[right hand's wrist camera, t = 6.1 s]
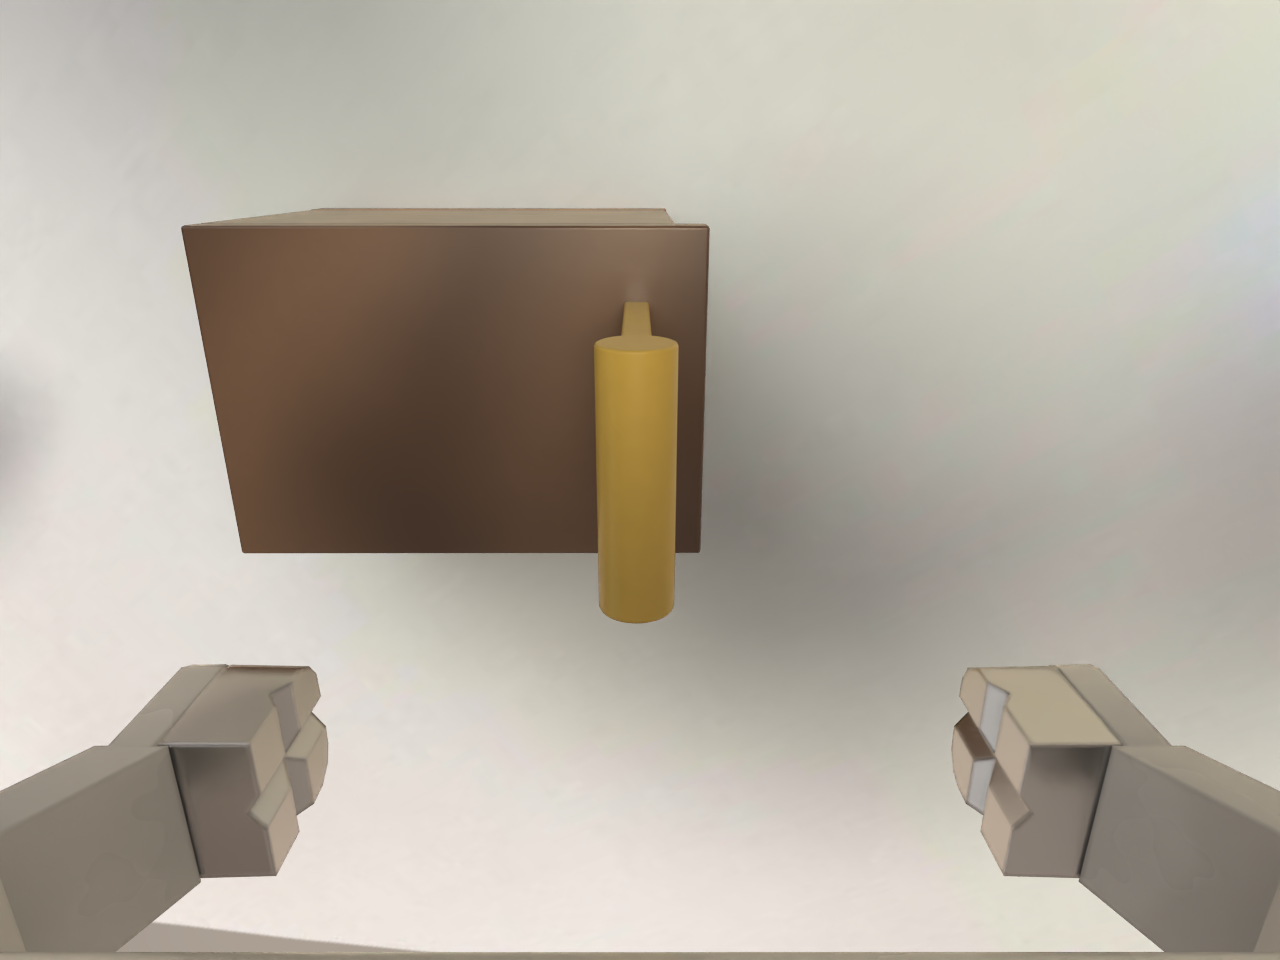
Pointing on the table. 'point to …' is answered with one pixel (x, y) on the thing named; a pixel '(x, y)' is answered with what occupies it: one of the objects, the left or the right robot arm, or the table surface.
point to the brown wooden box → (460, 216)
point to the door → (463, 390)
